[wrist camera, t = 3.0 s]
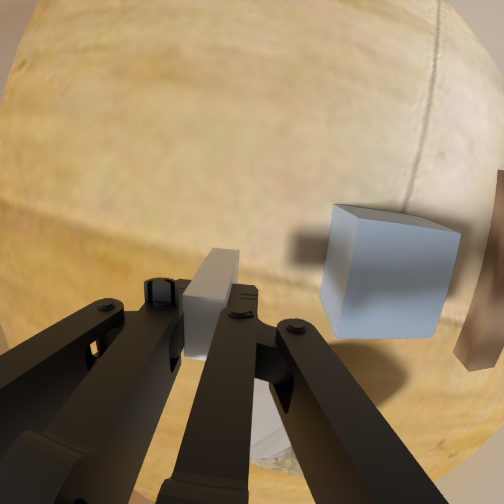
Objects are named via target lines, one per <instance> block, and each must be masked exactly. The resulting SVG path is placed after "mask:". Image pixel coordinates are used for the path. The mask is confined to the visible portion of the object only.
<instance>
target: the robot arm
mask: <svg viewBox="0 0 504 504" xmlns="http://www.w3.org/2000/svg"><path fill="white" fill-rule="evenodd" d="M239 251H240V250H231V249H220V248H212V250H211V251H210V253H209V254H208V256H207V257H206V259H205V261H204V262H203V264H202V265H201V267H200V268H199V270H198V271H197V273H196V274H195V276H194V278H193V279H192V280H186V279H178V280H176V281H175V280H173V279H169V278H153V279H149V280H147V281H145V282H144V294H145V303H144V305H143V306H142V307H141V308H140V309H139V311H124V305H123V303H122V302H121V301H119V300H116V299H112V298H109V299H108V298H104V299H101V300H98V301H95V302H93V303H91V304H89V305H88V306H86V307H84V308H82V309H80V310H79V311H77V312H75V313H73V314H71V315H70V316H68V317H66V318H64V319H62V320H61V321H59V322H57V323H55V324H54V325H52V326H50V327H48V328H47V329H45V330H43V331H41V332H40V333H38V334H36V335H34V336H33V337H31V338H29V339H28V340H26V341H24V342H22V343H21V344H19V345H17V346H16V347H14V348H12V349H11V350H9V351H7V352H6V353H4V354H2V355H1V356H0V504H128V502H129V499H130V496H131V494H132V491H133V488H134V486H135V483H136V480H137V477H138V475H139V472H140V469H141V467H142V464H143V461H144V458H145V456H146V453H147V451H148V448H149V445H150V443H151V440H152V437H153V435H154V432H155V429H156V427H157V424H158V422H159V419H160V417H161V414H162V411H163V409H164V406H165V404H166V401H167V399H168V396H169V393H170V391H171V388H172V386H173V383H174V381H175V378H176V376H177V373H178V371H179V368H180V366H181V352H182V349H183V347H184V358H190V359H198V360H205V361H206V362H205V365H204V368H203V372H202V375H201V378H200V382H199V385H198V388H197V392H196V395H195V398H194V402H193V405H192V409H191V412H190V415H189V419H188V422H187V426H186V429H185V432H184V436H183V439H182V443H181V446H180V450H179V453H178V457H177V460H176V464H175V467H174V471H173V473H172V476H171V477H170V478H168V479H165V481H164V482H163V483H162V485H161V488H160V491H159V493H158V497H157V500H156V503H155V504H248V499H249V491H248V476H249V461H250V445H251V429H252V412H253V395H254V378H256V379H260V380H263V381H266V382H269V390H270V392H271V395H272V398H273V400H274V403H275V405H276V408H277V411H278V413H279V416H280V418H281V421H282V423H283V426H284V428H285V431H286V433H287V436H288V438H289V441H290V443H291V446H292V448H293V451H294V453H295V455H296V458H297V460H298V463H299V465H300V468H301V470H302V472H303V475H304V477H305V480H306V482H307V484H308V487H309V489H310V491H311V494H312V496H313V498H314V501H315V503H316V504H449V503H448V502H447V501H446V499H445V498H444V497H443V495H442V494H441V493H440V491H439V490H438V489H437V487H436V486H435V485H434V483H433V482H432V481H431V479H430V478H429V477H428V475H427V474H426V473H425V471H424V470H423V469H422V467H421V466H420V465H419V463H418V462H417V461H416V459H415V458H414V457H413V455H412V454H411V453H410V451H409V450H408V449H407V447H406V446H405V445H404V443H403V442H402V441H401V439H400V438H399V437H398V436H397V434H396V433H395V432H394V430H393V429H392V428H391V426H390V425H389V424H388V422H387V421H386V420H385V418H384V417H383V416H382V414H381V413H380V412H379V410H378V409H377V408H376V407H375V405H374V404H373V403H372V401H371V400H370V399H369V397H368V396H367V395H366V393H365V392H364V391H363V389H362V388H361V387H360V385H359V384H358V383H357V382H356V380H355V379H354V378H353V376H352V375H351V374H350V372H349V371H348V370H347V368H346V367H345V366H344V364H343V363H342V362H341V361H340V359H339V358H338V357H337V355H336V354H335V353H334V351H333V350H332V349H331V347H330V346H329V345H328V344H327V342H326V341H325V340H324V338H323V337H322V336H321V334H320V333H319V332H318V330H317V329H316V328H315V327H314V326H313V325H312V324H311V323H309V322H307V321H305V320H302V319H301V320H300V319H297V318H296V319H285V320H282V321H280V322H279V323H278V325H277V327H273V326H270V325H267V324H265V323H263V322H261V321H260V320H259V319H258V315H257V308H258V289H257V288H256V287H255V286H254V285H244V284H237V279H238V265H239ZM94 341H96V346H97V351H98V352H97V353H96V354H94V355H93V354H92V352H91V347H90V344H91V343H93V342H94Z"/></svg>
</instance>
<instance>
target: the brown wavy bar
mask: <svg viewBox="0 0 504 504" xmlns="http://www.w3.org/2000/svg"><path fill="white" fill-rule="evenodd" d="M503 347H504V170H498V177H497V187H496V196H495V203H494V210H493V217H492V223H491V228H490V233H489V239H488V243H487V248H486V252H485V257H484V261H483V265H482V269H481V272H480V276H479V280H478V283H477V287H476V290H475V293H474V297H473V300H472V303H471V306H470V309H469V312H468V315H467V317H466V320H465V323H464V326H463V328H462V331H461V333H460V336H459V338H458V341H457V343H456V346H455V348H454V350H453V353H454V354H455V355H456V357H457V358H458V359H459V360H460V361H461V363H462V364H463V365H464V366H465V368H466V369H467V370H468V371H469V372H470V371H476V370H482V369H487V368H492V367H494V366H495V364H496V362H497V360H498V358H499V356H500V354H501V352H502V350H503Z"/></svg>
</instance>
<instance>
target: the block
mask: <svg viewBox="0 0 504 504" xmlns="http://www.w3.org/2000/svg"><path fill="white" fill-rule="evenodd" d="M460 238H461V233H459V232H456V231H454V230H452V229H449V228H447V227H444V226H442V225H439V224H437V223H434V222H432V221H429V220H427V219H424V218H421V217H419V216H413V215H407V214H401V213H395V212H388V211H382V210H375V209H368V208H360V207H353V206H345V205H338V204H333V211H332V219H331V226H330V234H329V241H328V247H327V254H326V260H325V267H324V273H323V279H322V285H321V290H320V296H319V297H320V299H321V302H322V304H323V307H324V310H325V312H326V315H327V318H328V320H329V323H330V326H331V328H332V331H333V334H334V336H335V338H353V339H408V338H432V337H433V334H434V331H435V328H436V326H437V323H438V320H439V317H440V314H441V311H442V308H443V305H444V301H445V298H446V295H447V291H448V288H449V284H450V281H451V277H452V273H453V269H454V265H455V261H456V257H457V252H458V248H459V243H460Z"/></svg>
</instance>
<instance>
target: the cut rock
mask: <svg viewBox="0 0 504 504" xmlns="http://www.w3.org/2000/svg"><path fill="white" fill-rule="evenodd" d="M250 462H251V463H253V464H254V465H256V466H258V467H260V468H266V469H270V470H272V471H281V472H284V473H287V474H290V475H301V476H304V475H303V472H302V470H301V468H300V465H299V463H298V460H297V458H296V455H295V453H294V451H293V448H292V446H291V443H290V441H289V438H288V436H287V433H286V431H285V428H284V426H283V423H282V421H281V418H280V416H279V413H278V411H277V408H276V405H275V403H274V400H273V398H272V395H271V392H270V390H269V382H266V381H263V380H260V379H256V378H254V395H253V412H252V429H251V445H250Z"/></svg>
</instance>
